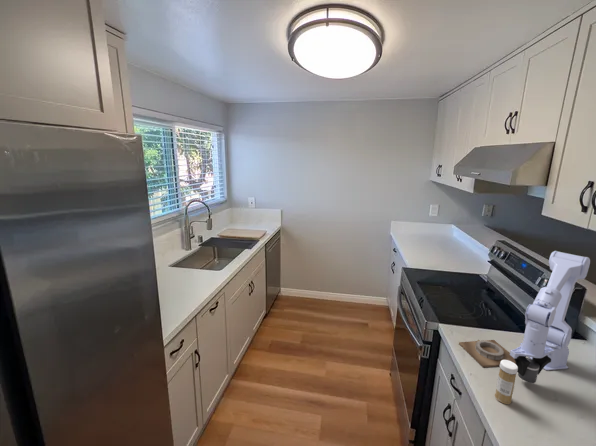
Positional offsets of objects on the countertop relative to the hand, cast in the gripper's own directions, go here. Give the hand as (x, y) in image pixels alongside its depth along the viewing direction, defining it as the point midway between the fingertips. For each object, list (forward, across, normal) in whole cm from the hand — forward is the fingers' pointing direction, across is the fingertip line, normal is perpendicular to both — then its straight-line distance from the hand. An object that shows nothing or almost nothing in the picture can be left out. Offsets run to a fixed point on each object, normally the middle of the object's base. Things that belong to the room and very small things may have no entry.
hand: (527, 373), depth 98 cm
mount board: (+4, +1, -16) cm, 17 cm away
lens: (+2, 0, 0) cm, 2 cm away
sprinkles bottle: (+5, +13, +5) cm, 15 cm away
